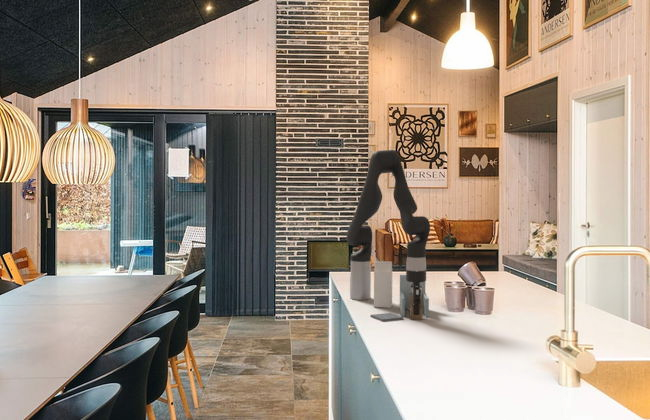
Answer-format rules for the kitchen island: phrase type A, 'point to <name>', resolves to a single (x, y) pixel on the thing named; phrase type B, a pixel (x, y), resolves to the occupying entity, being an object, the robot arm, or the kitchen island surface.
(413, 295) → the walnut block
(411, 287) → the robot arm
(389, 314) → the slate pad
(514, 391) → the kitchen island surface
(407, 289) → the shelf bay
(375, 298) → the milk carton
